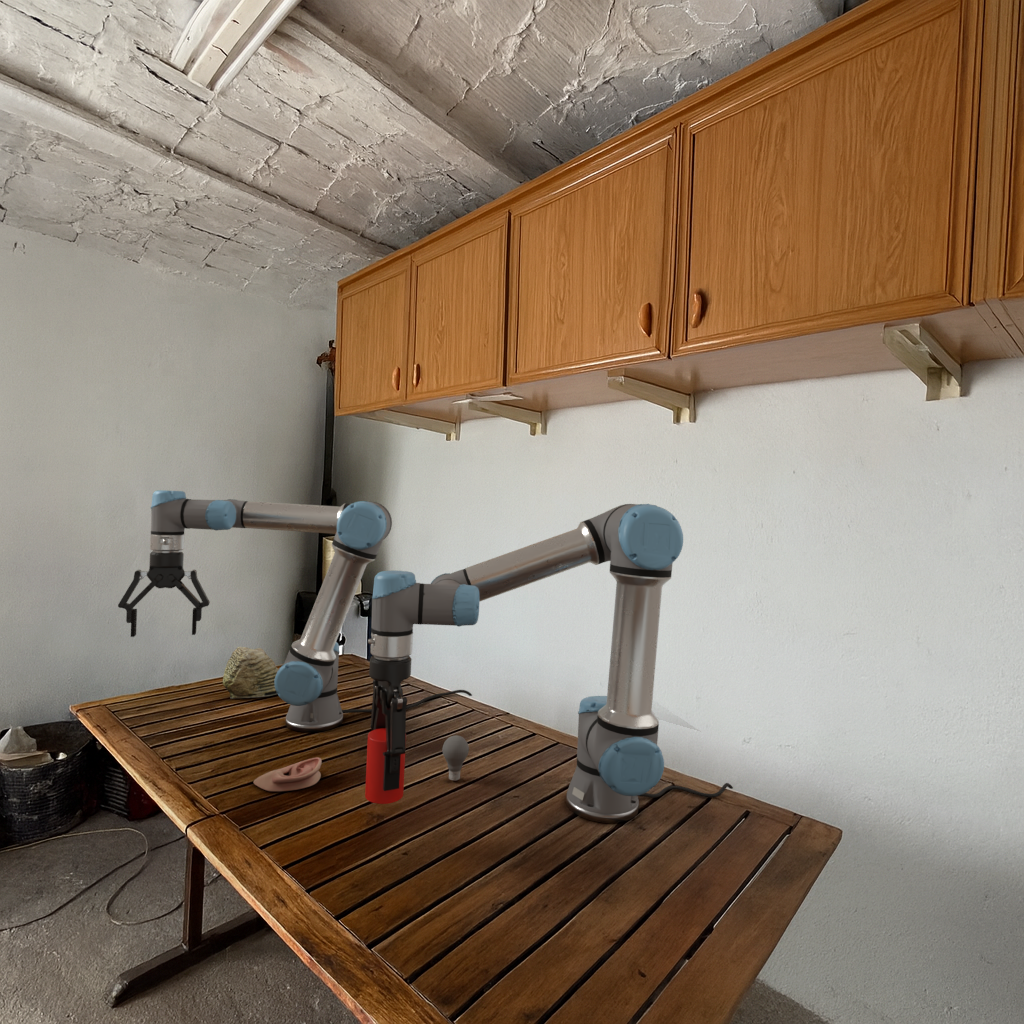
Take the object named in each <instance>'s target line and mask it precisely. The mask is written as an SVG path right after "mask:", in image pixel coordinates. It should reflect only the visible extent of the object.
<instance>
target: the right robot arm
mask: <svg viewBox="0 0 1024 1024" xmlns="http://www.w3.org/2000/svg"><path fill="white" fill-rule="evenodd" d="M683 547H684V533H683V529H682V526H681V524H680V522H679V521H678V519H677V518H676V516H675V515H674V514H673V513H671V512H670V511H669V510H668V509H666V508H664V507H661V506H658V505H656V504H650V503H640V504H638V503H625V504H620V505H618V506H616V507H612V508H611V509H608V510H606V511H605V512H603V513H600V514H598V515H595V516H593V517H590V518H588V519H585V520H583V521H580V522H579V524H578V526H577V528H574V529H572V530H569V531H566V532H563V533H560V534H558V535H555V536H553V537H549V538H547V539H544V540H540V541H538V542H535V543H532V544H530V545H527V546H524V547H521V548H518V549H515V550H513V551H510V552H506V553H503V554H501V555H498V556H495V557H492V558H490V559H487V560H484V561H482V562H478V563H475V564H473V565H470V566H467V567H465V568H463V569H459V570H456V571H454V572H449V573H446V572H445V573H442V574H440V575H437V576H436V577H435V578H433V579H432V581H431V582H430V583H423V582H422V583H421V582H417V580H416V574H415V573H414V572H413V571H407V570H382V571H379V572H377V574H376V575H374V579H373V590H372V596H371V598H372V599H371V627H370V629H371V630H370V631H371V634H370V636H371V638H368V640H367V644H368V645H370V654H371V655H372V656H370V657H369V668H368V674H369V675H368V676H369V677H370V678H371V679H372V685H373V686H372V690H373V691H372V704H371V709H372V712H371V713H370V714H371V716H370V730H371V731H373V730H375V729H380V728H386V743H387V752H383V756H385V760H384V782H383V790H384V791H387V790H393V789H399V780H400V759H401V754H405V755H406V751H407V750H406V749H407V748H406V745H407V709H406V706H408V698H407V697H406V696H404V690H403V688H402V685H401V683H402V682H403V681H405V680H408V679H409V678H410V677H411V675H412V658H411V655H412V654H413V642H414V628H413V627H414V625H420V626H421V625H429V626H430V625H433V626H454V627H455V626H456V627H464V626H465V627H466V626H475V625H476V624H477V623H478V622H479V617H480V616H479V615H480V602H482V601H485V600H488V599H490V598H494V597H496V596H499V595H502V594H505V593H507V592H510V591H513V590H517V589H520V588H522V587H524V586H527V585H530V584H533V583H536V582H539V581H541V580H544V579H546V578H550V577H552V576H555V575H558V574H561V573H564V572H566V571H570V570H572V569H575V568H578V567H580V566H583V565H586V564H591V565H595V566H597V565H600V564H603V563H608V562H609V574H610V575H611V576H612V577H613V578H614V580H615V582H616V584H615V585H616V586H615V596H614V597H615V598H614V609H613V610H614V611H613V622H612V632H611V645H610V657H609V670H608V682H607V691H606V695H593V696H592V695H591V696H586V697H583V698H582V699H581V700H580V701H579V709H578V711H577V714H578V725H577V750H576V767H575V769H574V772H573V775H572V778H571V780H570V782H569V786H568V788H567V791H566V798H565V799H566V801H565V802H566V806H567V807H568V808H567V809H569V811H571V812H572V813H574V815H577V816H578V817H581V818H583V819H585V820H589V821H592V822H596V823H603V824H604V823H605V824H618V823H624V822H627V821H630V820H632V819H633V818H635V817H636V816H638V813H639V808H640V806H639V805H640V800H639V797H643V798H644V797H645V798H651V799H656V798H660V797H661V796H663V795H664V794H665V793H666V792H667V791H671V790H675V791H676V790H677V791H682V792H687V793H690V794H693V795H695V796H699V797H703V798H708V799H709V798H717V797H720V796H721V795H722V794H723V793H724V792H725V790H726V789H727V788H728V789H731V790H732V789H734V787H733V785H731V784H730V783H729V782H726V783H725V782H724V784H723V785H722V787H721V788H720V789H719V791H717V792H715V793H706V792H701V791H697V790H695V789H691V788H689V787H685V786H681V785H669V786H665V787H664V788H663V789H661V790H660V791H659V792H657V793H648V792H650V790H652V788H654V787H656V786H657V784H658V783H659V782H660V780H661V779H662V776H663V774H664V770H665V759H664V755H663V752H662V749H661V748H660V747H659V746H658V739H659V728H660V727H659V726H660V719H659V718H658V716H657V715H656V714H655V713H654V712H653V710H652V709H653V698H654V687H655V678H656V677H655V676H656V675H655V674H656V665H657V653H658V652H657V651H658V642H659V628H660V627H659V626H660V617H661V607H662V606H661V605H662V595H663V594H662V593H663V586H664V585H665V584H666V583H667V582H669V581H670V580H671V579H672V573H673V572H672V571H673V563H674V562H675V561H676V560H677V559H678V558H679V556H680V554H681V553H682V550H683ZM405 748H406V749H405Z"/></svg>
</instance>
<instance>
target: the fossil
mask: <svg viewBox="0 0 1024 1024" xmlns="http://www.w3.org/2000/svg"><path fill="white" fill-rule="evenodd" d="M278 670H279V668H278V667H277V665H276V663H275V662H274V660H273V659H272V658H271V657H270V656H269V655H268V654H267V653H266V652H265V650H264V649H263V648H260V647H258V648H251V647H247V646H246V647H245V646H238V647H237V648H236V649H235V650H233V651H232V653H231V656H230V657H229V659H228V660H227V663H226V666H225V668H224V671H223V675H222V676H223V677H222V685H223V687H224V688H225V690H226V691H228V693H229V698H230V699H250V698H264V697H271V696H275V695H278V694H277V692H276V690H275V684H274V681H275V676H276V674H277V671H278Z"/></svg>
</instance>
